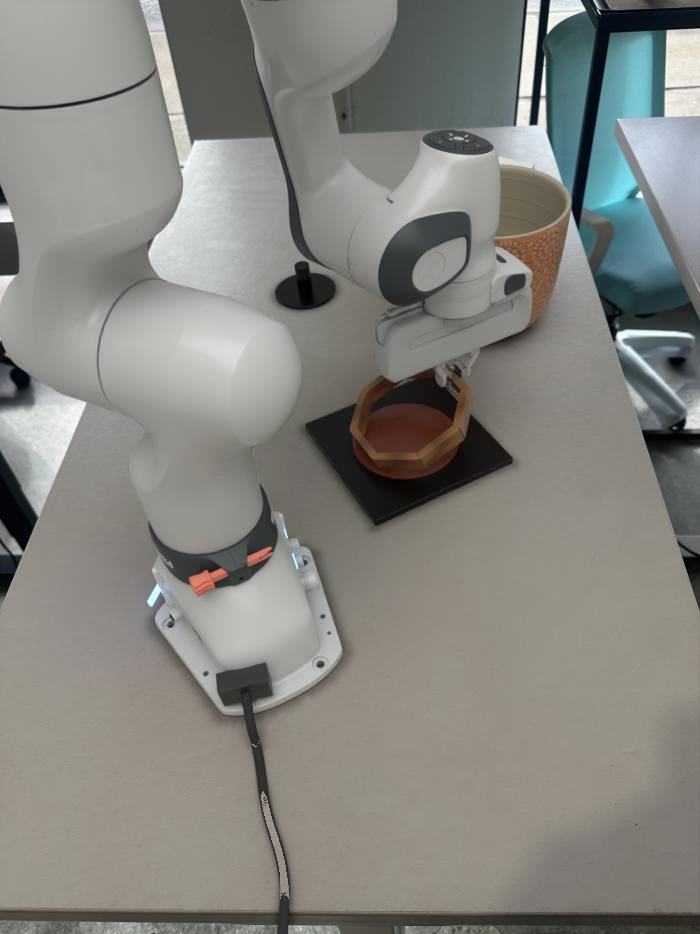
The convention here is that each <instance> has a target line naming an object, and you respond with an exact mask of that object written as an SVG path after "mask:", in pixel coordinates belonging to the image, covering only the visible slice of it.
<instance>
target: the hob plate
mask: <svg viewBox="0 0 700 934" xmlns="http://www.w3.org/2000/svg"><path fill="white" fill-rule="evenodd" d="M457 403H458V399H457V398H456V397H455V396H454V395H453V394H452V393H451V392H450V390H448V388H446V386H445V387H441V386H440V385H439V384H438V383H437V382H436V379H435V378H414V379H411V380H410V381H408V382H405V383H401V384H400V385H396V386H395V387H394V388H393V389H391V390H390V391H389V392H387V393H386V394H385V395H383V396H382V397H381V398H379V399H378V400H377V401H376V402H374V403H373V405H372V409H371V413H370V416H369V420H368V424H367V428H366V431H365V435H364V437H365V438H366V440H367V441H368V442H369V443H370V445H371V446H372V447H373V448H374V450H375V451H376V452H377V453H418V452H419V451H420V450H421V449H423V448H424V447H425V446H427V445H428V444H429V443H431V442H432V441H433V440H435V439H436V438H437V437H439V436H440V435H441V434H443V433H444V432H445V431H446V430H448V429H449V428H450V427H452V426H453V422H454V417H455V413H456V408H457ZM356 404H357V402H355V403H353V404H351V405H348V406H346V407H343V408H341V409H338V410H335V411H334V412H330V413H328V414H326V415H323V416H321V417H319V418H316V419H313V420H311V421H309V422H305V425H304V426H305V430H306V431H307V432H308V434H309V436H310V437H311V438H312V440H313V441H314V442H315V443H316V445H317V446H318V448H319V449H320V450H321V452H322V453H323V455H324V456H325V458H326V459H327V460H328V461H329V463H330V464H331V466H332V467H333V468H334V470H335V472H336V473H337V474H338V476H339V478H341V479H342V481H343V482H344V484H345V485H346V487H347V488H348V489H349V491H350V492H351V493H352V495H353V497H354V498H355V499H356V501H357V502H358V503H359V505H360V506H361V507H362V509H363V510H364V511H365V513H366V514H367V515H368V518H370V520H371V521H372V523H373V524H374V526H379V525H381V524H383V523H387V522H388V521H390V520H392V519H394V518H396V517H399V516H400V515H403V514H405V513H408V512H410V511H411V510H414V509H417V508H418V507H420V506H423V505H425V504H427V503H429V502H431V501H433V500H436V499H437V498H439V497H442V496H444V495H446V494H448V493H450V492H453V491H455V490H457V489H459V488H462V487H464V486H465V485H467V484H471V483H472V482H474V481H476V480H480V479H482V478H483V477H485V476H487V475H489V474H492V473H494V472H496V471H498V470H500V469H502V468H504V467H507V466H508V465H511V464H513V462H514V457H513V456H512V455H511V454H510V453H509V452H508V451H507V450H506V449H505V448H504V447H503V446H502V445H501V444H500V443H499V441H498V440H496V438H495V437H494V436H493V435H492V434H491V433H490V432H489V431H488V430H487V429H486V428H485V427H484V425H482V424H481V423H480V422H479V420H477V419H476V418H475V417H474V416H473V414H471V413H470V418H469V423H468V427H467V432H466V437H465V438H464V440H463V441H462V442H461V443H459V444H458V445H457V446H455V447H454V448H453V449H452V450H450V451H449V452H448V453H446V454H445V455H444V456H442V457H441V458H440V459H438V460H437V461H436V462H434V463H433V464H432V465H431V466H429V467H428V468H427V469H425V468H424V470H384V469H380V468H378V467H377V466H376V465H375V463H374V462H373V461H372V460H371V458H370V457H369V456H368V454H367V453H366V452H365V451H364V449H363V448H362V447H361V445H360V444H359V443H358V442H357V440H356V439H355V438H354V436H353V435H352V433H351V432H350V425H351V422H352V418H353V415H354V411H355V408H356Z"/></svg>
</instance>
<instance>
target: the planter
mask: <svg viewBox="0 0 700 934" xmlns="http://www.w3.org/2000/svg"><path fill="white" fill-rule="evenodd" d="M499 166H500V180H501V198H500V217H499V225H498V229H497V232H496V234H495V238H494V247H501V248H503V249H504V250H506V251H508V252H509V253H511V254H512V255H514V256H515V257H516V258H518V259H519V260H520V261H521V262H523V263H524V264H525V265H526V266H527V267H528V268H529V269H530V270H531V271H532V273H533V277H532V282H531V284H530V285H529V287H530V288H531V290H532V310H531V318H530V321H529V323H528V324H527V326H526V327H525V329H524V330H527V329H528V328H529V327H531V326H532V325H533V324H535V323H536V322H538V320H539V319H540V318H541V316H543V314H544V312H545V311H546V309H547V308H548V306H549V304H550V301H551V299H552V296H553V292H554V290H555V288H556V285H557V280H558V276H559V273H560V268H561V264H562V260H563V255H564V251H565V250H564V249H565V245H566V241H567V235H568V230H569V224H570V218H571V213H572V204H573V201H572V195H571V194H570V191H569V190H568V188H567V186H565V185H564V184H563V183H562V182H561V181H560V180H558V179H557V178H556V177H553V176H552V175H550V174H548V173H545V172H544V171H541V170H537V169H531V168H527V167H522V166H516V165H506V164H499ZM524 330H522V331H520V332H518V333H515V334H513V335H510V336H508V337H507V338H509V337H513V336H515V335H517V334H519V333H521V332H523V331H524Z"/></svg>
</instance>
